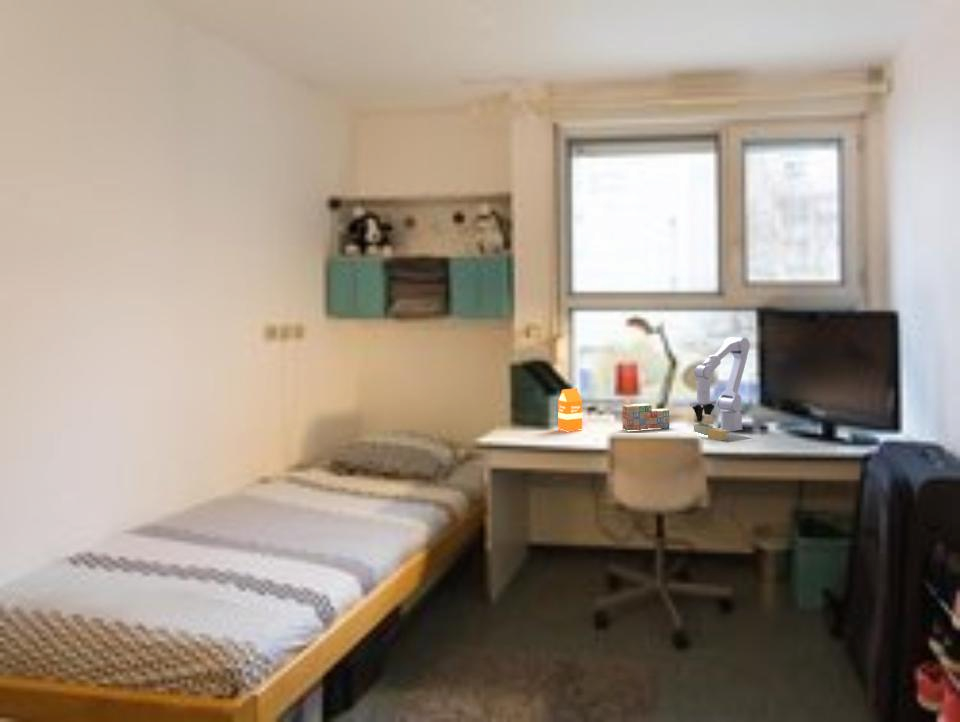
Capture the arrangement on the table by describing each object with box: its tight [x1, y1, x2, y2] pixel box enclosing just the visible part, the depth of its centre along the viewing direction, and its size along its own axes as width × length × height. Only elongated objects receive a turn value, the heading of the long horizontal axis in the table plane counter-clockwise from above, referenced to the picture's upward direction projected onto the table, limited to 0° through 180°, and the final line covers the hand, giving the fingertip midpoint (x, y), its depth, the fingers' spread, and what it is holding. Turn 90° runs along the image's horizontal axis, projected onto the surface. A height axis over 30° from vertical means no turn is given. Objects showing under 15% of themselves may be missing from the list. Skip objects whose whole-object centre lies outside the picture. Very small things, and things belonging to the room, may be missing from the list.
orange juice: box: [557, 387, 583, 431], centre depth 425 cm, size 8×9×20 cm
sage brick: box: [693, 423, 714, 435], centre depth 407 cm, size 8×4×4 cm, turn 30°
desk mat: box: [708, 432, 754, 443], centre depth 401 cm, size 16×27×1 cm, turn 29°
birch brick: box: [693, 412, 714, 425], centre depth 406 cm, size 8×4×4 cm, turn 30°
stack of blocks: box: [622, 403, 670, 431], centre depth 423 cm, size 21×6×12 cm, turn 102°
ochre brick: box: [707, 427, 728, 441], centre depth 395 cm, size 8×4×4 cm, turn 30°
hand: (703, 420), depth 406 cm, fingers closed on birch brick, 4 cm apart
